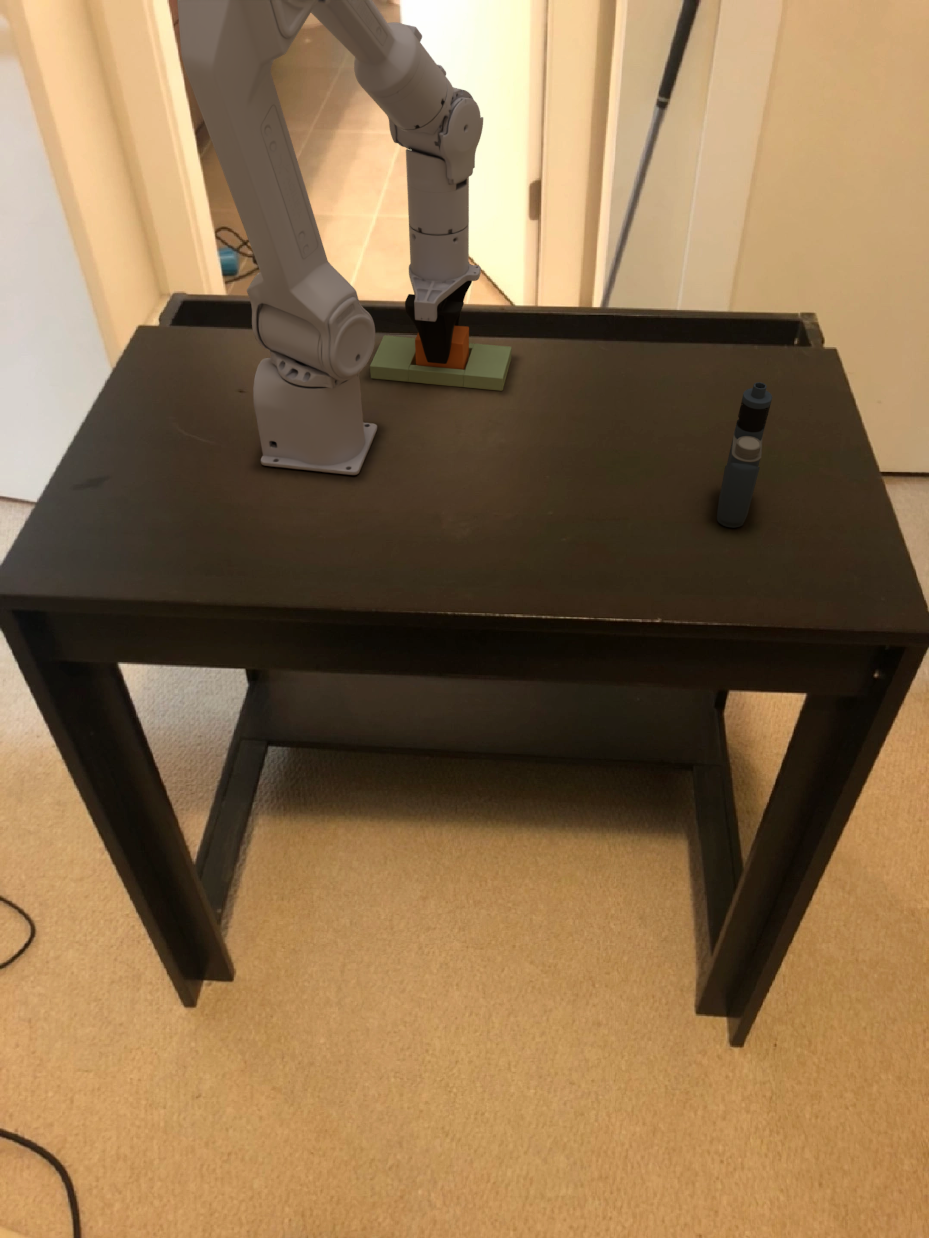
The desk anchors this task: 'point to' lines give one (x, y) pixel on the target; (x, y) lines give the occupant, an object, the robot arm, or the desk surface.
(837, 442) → the desk surface
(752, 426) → the vaping device
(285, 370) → the robot arm
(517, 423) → the desk surface
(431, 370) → the base pad
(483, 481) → the desk surface
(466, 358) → the orange rectangular block
